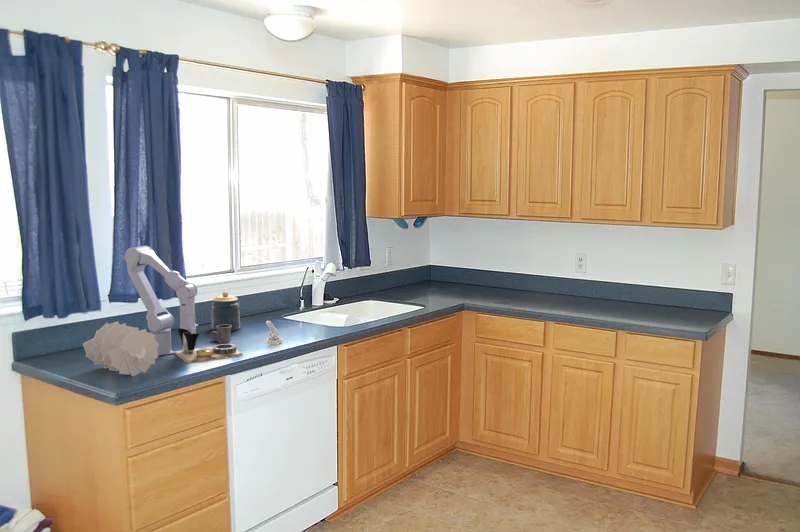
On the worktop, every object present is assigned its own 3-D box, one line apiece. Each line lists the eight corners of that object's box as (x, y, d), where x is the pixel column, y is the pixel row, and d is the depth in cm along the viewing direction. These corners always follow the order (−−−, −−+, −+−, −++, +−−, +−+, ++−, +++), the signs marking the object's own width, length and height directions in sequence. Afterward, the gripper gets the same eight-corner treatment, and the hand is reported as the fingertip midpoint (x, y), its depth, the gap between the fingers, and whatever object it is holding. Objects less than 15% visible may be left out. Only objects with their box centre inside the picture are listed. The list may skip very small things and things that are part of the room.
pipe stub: (185, 354, 273) (184, 334, 272) (182, 352, 277) (181, 332, 276) (195, 353, 276) (194, 333, 275) (192, 351, 279) (191, 331, 278)
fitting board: (186, 363, 265) (186, 360, 265) (174, 353, 278) (174, 351, 278) (242, 355, 277) (241, 353, 277) (227, 346, 290) (227, 344, 290)
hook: (253, 333, 294) (259, 321, 299) (267, 352, 300) (273, 340, 305) (267, 331, 291) (273, 319, 296) (281, 350, 297) (287, 338, 302)
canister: (244, 329, 322) (244, 292, 320) (217, 333, 315) (216, 294, 312) (234, 324, 333) (233, 288, 330) (207, 327, 325) (206, 290, 323)
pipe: (217, 339, 304) (217, 321, 302) (235, 344, 296) (235, 325, 294) (205, 341, 299) (205, 323, 298) (224, 346, 291) (223, 328, 290)
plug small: (199, 358, 268) (199, 353, 268) (194, 355, 273) (194, 349, 273) (214, 356, 271) (214, 351, 271) (209, 353, 276) (209, 347, 276)
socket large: (217, 355, 273) (217, 350, 273) (209, 350, 280) (209, 345, 280) (239, 352, 278) (239, 347, 278) (231, 347, 285) (231, 342, 285)
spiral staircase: (116, 373, 264) (154, 383, 249) (74, 362, 251) (111, 371, 236) (132, 327, 269) (170, 334, 253) (91, 314, 255) (129, 320, 240)
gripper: (203, 316, 270) (204, 350, 272) (192, 310, 282) (192, 342, 284) (185, 318, 266) (186, 352, 268) (174, 311, 278) (175, 344, 280)
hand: (188, 347), depth 276 cm, fingers open, 7 cm apart
